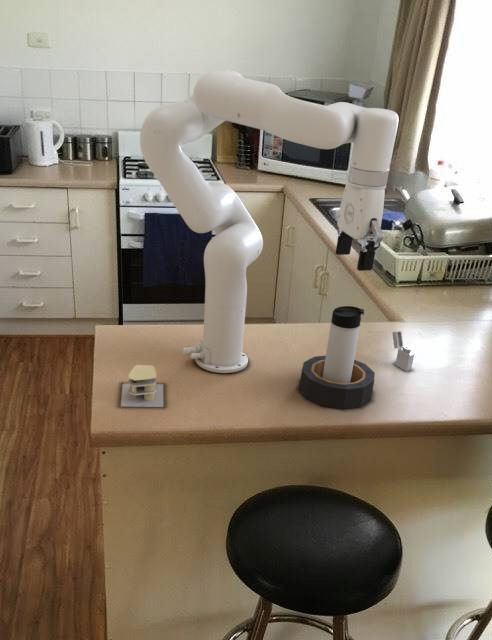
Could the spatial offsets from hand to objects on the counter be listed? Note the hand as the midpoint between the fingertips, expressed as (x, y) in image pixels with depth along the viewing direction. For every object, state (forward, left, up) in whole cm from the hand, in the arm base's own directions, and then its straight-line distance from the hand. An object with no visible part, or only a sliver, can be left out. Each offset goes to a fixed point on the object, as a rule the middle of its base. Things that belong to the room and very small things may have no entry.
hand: (353, 261), depth 144 cm
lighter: (+22, +8, -30) cm, 38 cm away
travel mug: (0, -1, -30) cm, 30 cm away
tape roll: (0, -1, -30) cm, 30 cm away
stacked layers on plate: (-43, +6, -30) cm, 53 cm away
